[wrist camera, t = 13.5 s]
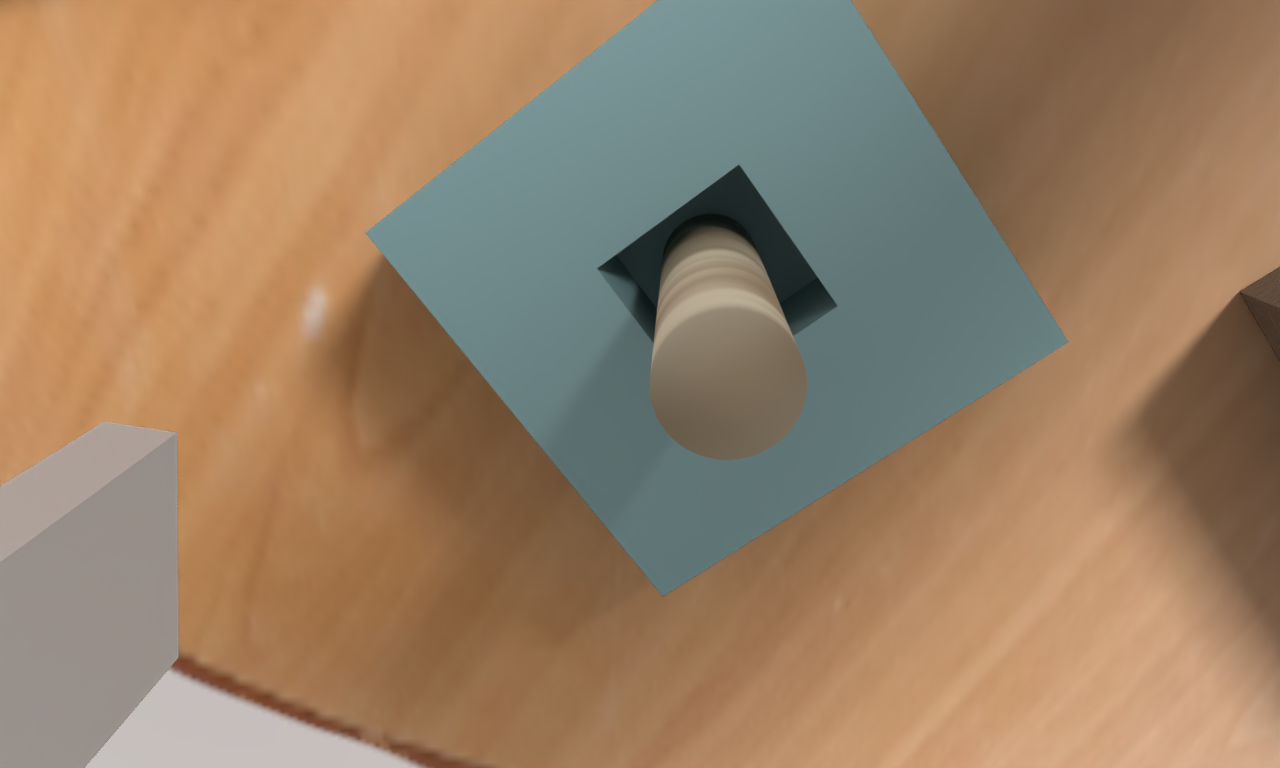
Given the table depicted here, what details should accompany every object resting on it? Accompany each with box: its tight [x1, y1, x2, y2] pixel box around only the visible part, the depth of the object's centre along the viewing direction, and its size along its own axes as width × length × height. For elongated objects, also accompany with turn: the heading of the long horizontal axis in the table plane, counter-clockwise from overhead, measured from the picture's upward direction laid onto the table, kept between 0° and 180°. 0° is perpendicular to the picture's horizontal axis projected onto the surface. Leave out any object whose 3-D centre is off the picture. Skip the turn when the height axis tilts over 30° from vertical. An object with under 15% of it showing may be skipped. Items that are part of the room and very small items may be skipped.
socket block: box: [366, 0, 1068, 596], centre depth 30 cm, size 14×14×5 cm
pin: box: [649, 214, 807, 460], centre depth 25 cm, size 3×3×13 cm
